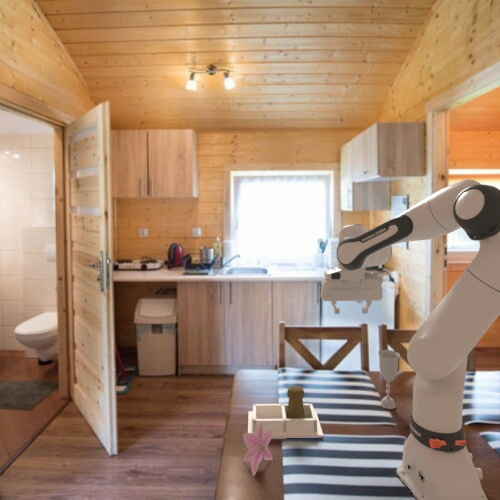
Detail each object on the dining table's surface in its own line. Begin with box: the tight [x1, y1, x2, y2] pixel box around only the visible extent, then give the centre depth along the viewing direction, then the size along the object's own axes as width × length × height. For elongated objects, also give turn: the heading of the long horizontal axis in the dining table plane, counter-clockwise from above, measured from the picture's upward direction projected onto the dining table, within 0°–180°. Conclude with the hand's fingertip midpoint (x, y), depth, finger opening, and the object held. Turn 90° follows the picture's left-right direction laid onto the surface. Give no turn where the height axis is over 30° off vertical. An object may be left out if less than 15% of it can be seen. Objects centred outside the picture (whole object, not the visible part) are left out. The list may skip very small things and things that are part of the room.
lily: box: [242, 422, 275, 477], centre depth 105 cm, size 12×12×10 cm
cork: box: [286, 385, 305, 419], centre depth 122 cm, size 6×6×11 cm
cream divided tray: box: [247, 403, 324, 440], centre depth 122 cm, size 14×22×4 cm, turn 89°
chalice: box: [377, 349, 401, 410], centre depth 133 cm, size 7×7×18 cm
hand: (350, 313), depth 134 cm, fingers open, 8 cm apart
